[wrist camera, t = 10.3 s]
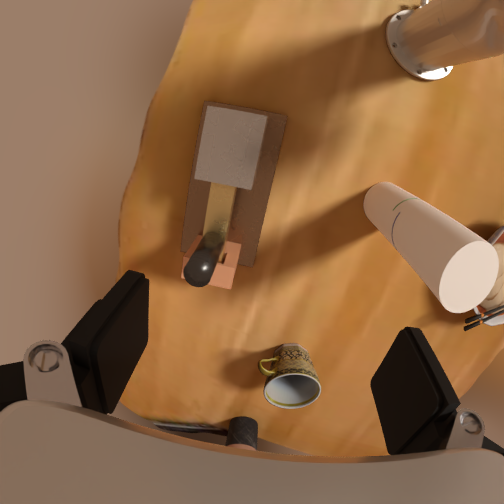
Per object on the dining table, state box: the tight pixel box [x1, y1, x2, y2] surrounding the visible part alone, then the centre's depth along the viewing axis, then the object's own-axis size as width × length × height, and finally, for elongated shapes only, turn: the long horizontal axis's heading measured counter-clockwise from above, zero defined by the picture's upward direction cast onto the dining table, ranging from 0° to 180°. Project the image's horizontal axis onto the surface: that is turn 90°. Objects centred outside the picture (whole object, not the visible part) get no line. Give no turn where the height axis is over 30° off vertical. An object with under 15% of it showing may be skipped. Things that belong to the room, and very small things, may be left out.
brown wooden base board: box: [181, 101, 287, 267], centre depth 40 cm, size 24×12×9 cm, turn 168°
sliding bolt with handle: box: [183, 182, 237, 287], centre depth 35 cm, size 16×3×12 cm, turn 168°
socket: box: [181, 235, 241, 289], centre depth 44 cm, size 3×7×8 cm, turn 78°
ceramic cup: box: [258, 343, 321, 409], centre depth 52 cm, size 13×10×10 cm
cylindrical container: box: [363, 182, 499, 313], centre depth 32 cm, size 7×7×25 cm
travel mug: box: [225, 417, 258, 451], centre depth 58 cm, size 8×8×20 cm
